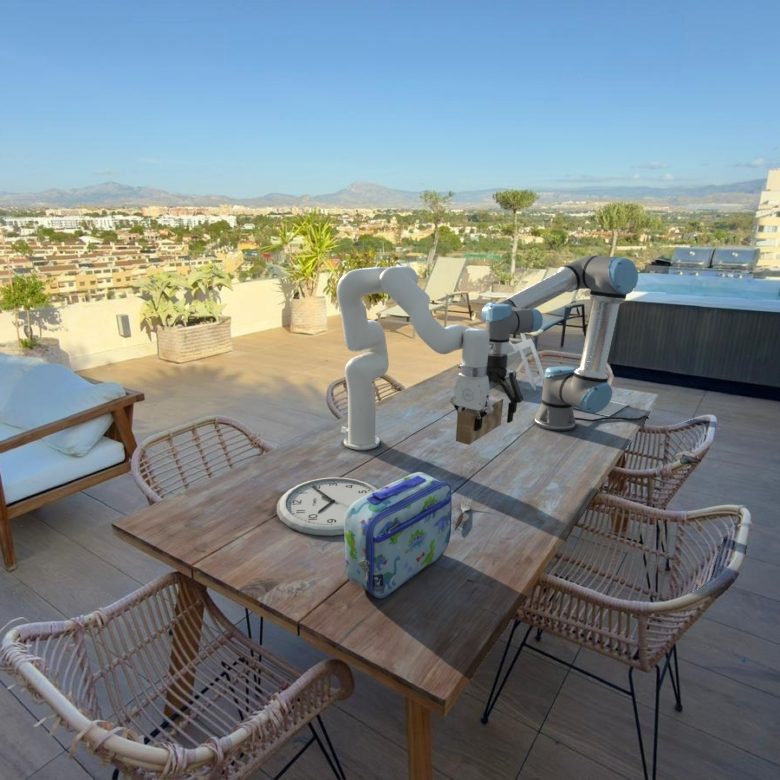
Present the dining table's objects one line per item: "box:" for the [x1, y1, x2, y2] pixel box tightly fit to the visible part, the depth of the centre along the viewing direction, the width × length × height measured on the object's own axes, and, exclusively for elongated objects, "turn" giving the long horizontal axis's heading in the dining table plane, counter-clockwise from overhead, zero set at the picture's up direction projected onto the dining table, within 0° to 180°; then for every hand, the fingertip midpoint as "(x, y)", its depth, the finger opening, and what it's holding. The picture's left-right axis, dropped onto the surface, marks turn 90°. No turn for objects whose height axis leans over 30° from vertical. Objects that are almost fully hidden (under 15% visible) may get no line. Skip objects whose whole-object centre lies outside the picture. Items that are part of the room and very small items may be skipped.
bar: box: [455, 395, 504, 446], centre depth 165 cm, size 22×5×9 cm, turn 143°
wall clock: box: [276, 476, 379, 537], centre depth 142 cm, size 30×2×30 cm
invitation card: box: [573, 400, 629, 417], centre depth 226 cm, size 21×1×15 cm
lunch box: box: [343, 471, 453, 599], centre depth 113 cm, size 26×11×21 cm, turn 134°
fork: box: [454, 495, 473, 531], centre depth 138 cm, size 3×16×2 cm, turn 160°
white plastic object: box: [506, 333, 545, 391], centre depth 258 cm, size 37×45×31 cm
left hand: (469, 427), depth 160 cm, fingers closed on bar, 4 cm apart
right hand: (490, 416), depth 171 cm, fingers open, 13 cm apart
